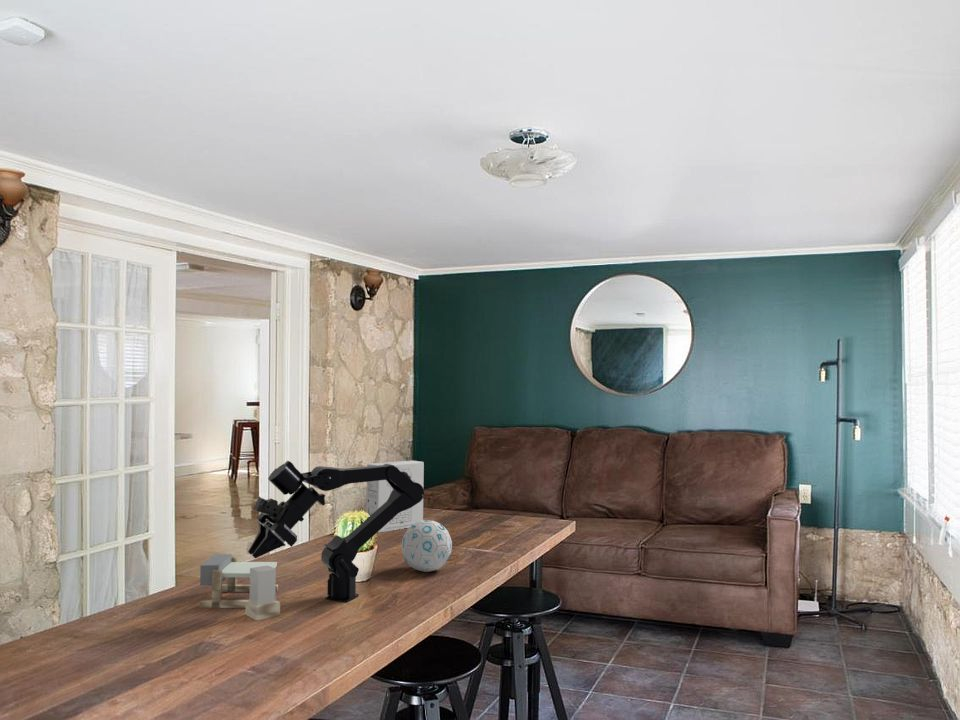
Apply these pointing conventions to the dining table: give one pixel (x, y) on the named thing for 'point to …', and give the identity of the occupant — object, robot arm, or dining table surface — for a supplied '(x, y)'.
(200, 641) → the dining table surface
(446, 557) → the puzzle ball
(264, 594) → the grey tall block
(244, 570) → the trapdoor
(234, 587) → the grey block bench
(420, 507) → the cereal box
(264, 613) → the stone riser
